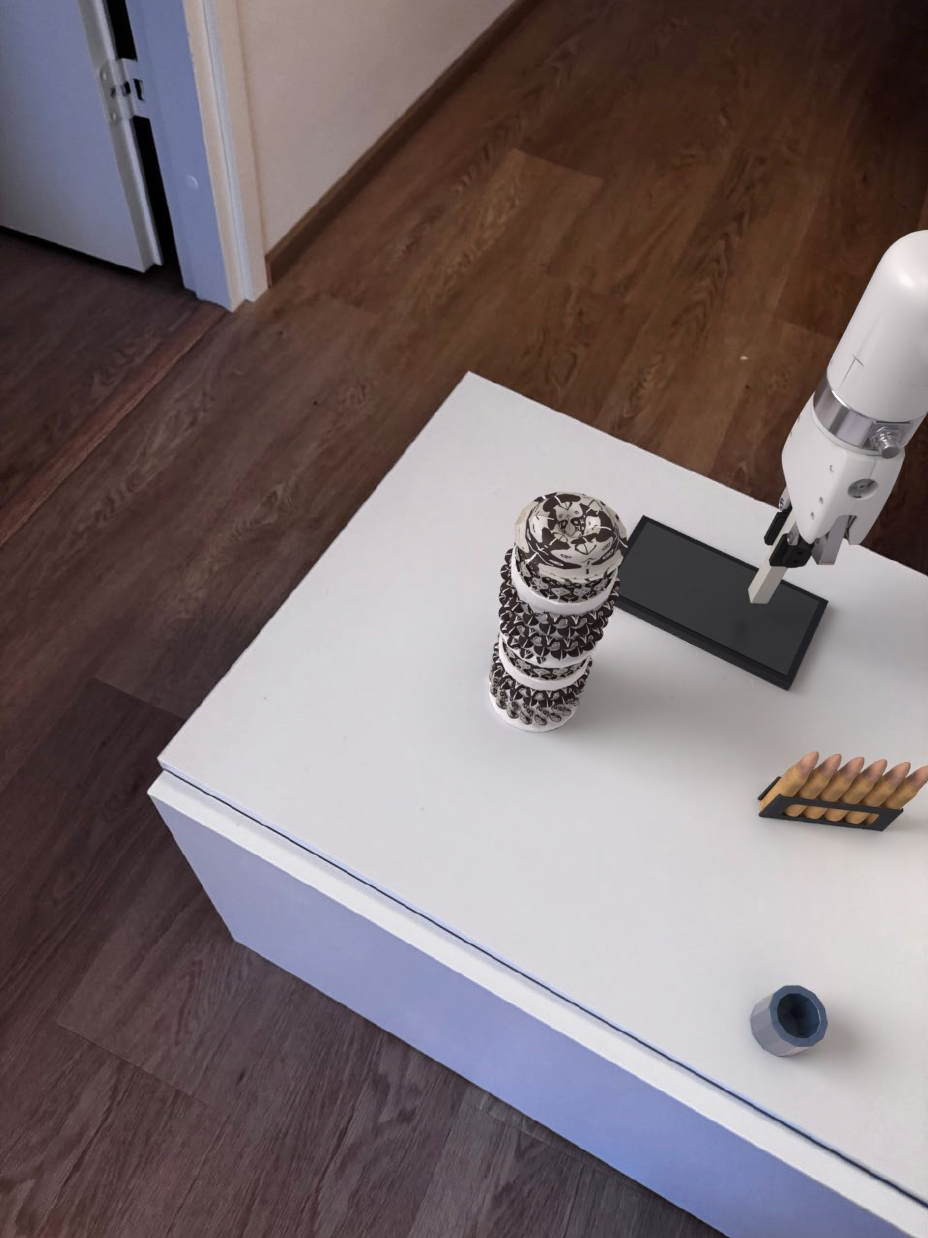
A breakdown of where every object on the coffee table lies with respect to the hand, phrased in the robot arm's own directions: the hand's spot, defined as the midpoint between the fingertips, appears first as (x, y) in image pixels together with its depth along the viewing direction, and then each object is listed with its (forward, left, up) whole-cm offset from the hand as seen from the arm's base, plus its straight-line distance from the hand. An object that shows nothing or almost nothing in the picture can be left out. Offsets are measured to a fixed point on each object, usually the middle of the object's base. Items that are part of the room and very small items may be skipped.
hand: (783, 552), depth 85 cm
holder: (+4, +37, -11) cm, 39 cm away
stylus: (0, 0, -8) cm, 8 cm away
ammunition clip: (-3, +20, -11) cm, 23 cm away
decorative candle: (+21, +8, -11) cm, 25 cm away
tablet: (+3, -2, -11) cm, 12 cm away
